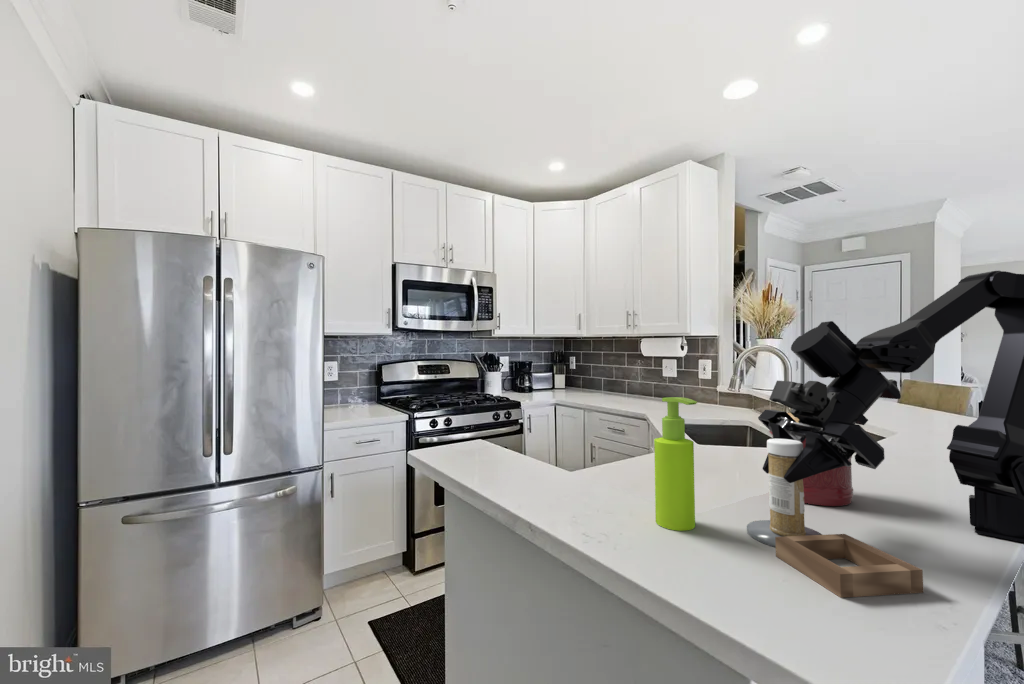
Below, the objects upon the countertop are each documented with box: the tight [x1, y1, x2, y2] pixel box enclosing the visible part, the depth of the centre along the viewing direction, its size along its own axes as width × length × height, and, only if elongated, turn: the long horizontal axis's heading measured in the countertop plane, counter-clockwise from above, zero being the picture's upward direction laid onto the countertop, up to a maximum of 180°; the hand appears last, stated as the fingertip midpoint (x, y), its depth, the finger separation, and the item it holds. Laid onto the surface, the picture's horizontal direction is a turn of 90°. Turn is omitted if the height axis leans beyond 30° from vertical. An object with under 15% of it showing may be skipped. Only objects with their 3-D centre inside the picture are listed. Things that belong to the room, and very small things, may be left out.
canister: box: [768, 412, 854, 507], centre depth 82 cm, size 13×13×18 cm
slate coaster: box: [746, 519, 823, 548], centre depth 63 cm, size 10×10×1 cm
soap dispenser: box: [653, 396, 698, 532], centre depth 68 cm, size 6×7×20 cm
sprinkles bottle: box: [766, 438, 806, 536], centre depth 63 cm, size 5×5×14 cm
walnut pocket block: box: [775, 533, 924, 599], centre depth 52 cm, size 10×10×2 cm
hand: (775, 475), depth 63 cm, fingers open, 4 cm apart
